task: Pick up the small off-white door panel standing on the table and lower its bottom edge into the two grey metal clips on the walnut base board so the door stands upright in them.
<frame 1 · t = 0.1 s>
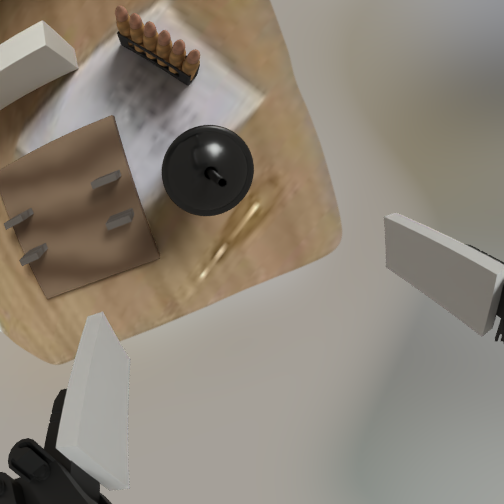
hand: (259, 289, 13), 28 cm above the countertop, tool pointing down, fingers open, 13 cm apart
drinking cup: (194, 158, 37), on the countertop
ammunition clip: (158, 58, 31), on the countertop
door panel: (23, 85, 26), on the countertop
clip board: (73, 211, 35), on the countertop
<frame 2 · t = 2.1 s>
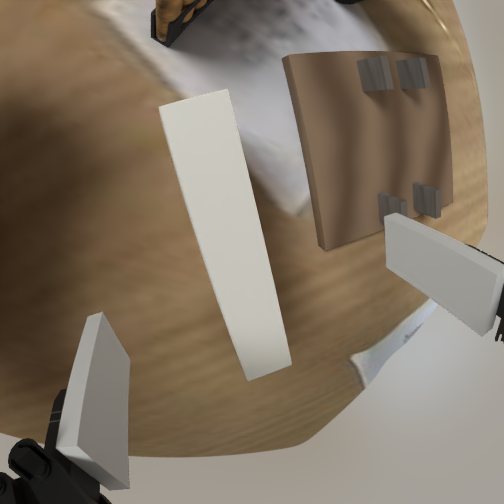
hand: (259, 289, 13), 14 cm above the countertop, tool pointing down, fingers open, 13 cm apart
ammunition clip: (200, 0, 19), on the countertop
door panel: (204, 206, 26), on the countertop
clip board: (384, 138, 28), on the countertop
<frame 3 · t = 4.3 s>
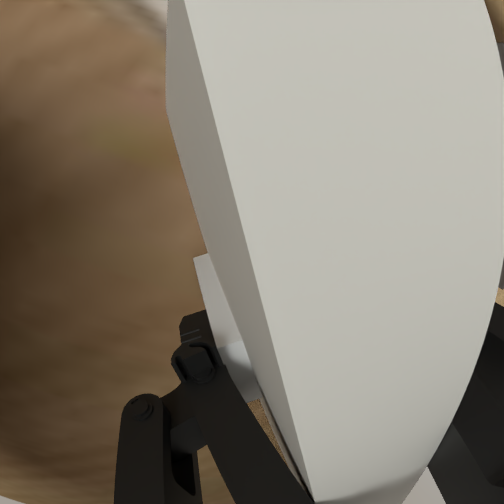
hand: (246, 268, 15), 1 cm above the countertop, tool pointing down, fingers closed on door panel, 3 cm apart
door panel: (243, 263, 15), on the countertop, touching gripper
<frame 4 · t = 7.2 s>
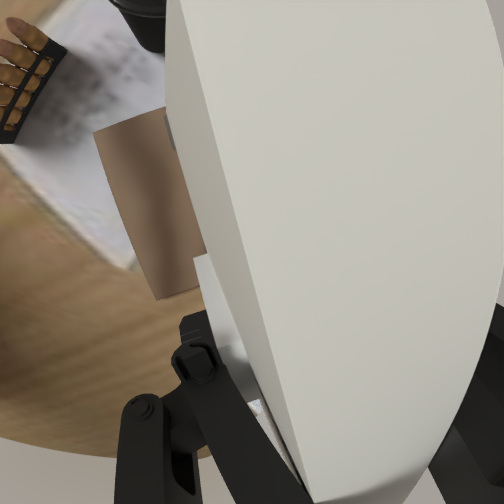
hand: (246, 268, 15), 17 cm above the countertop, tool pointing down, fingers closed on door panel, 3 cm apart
drinking cup: (161, 32, 23), on the countertop
ammunition clip: (32, 93, 21), on the countertop
door panel: (243, 264, 15), point 17 cm above the countertop, touching gripper
clip board: (214, 186, 30), on the countertop
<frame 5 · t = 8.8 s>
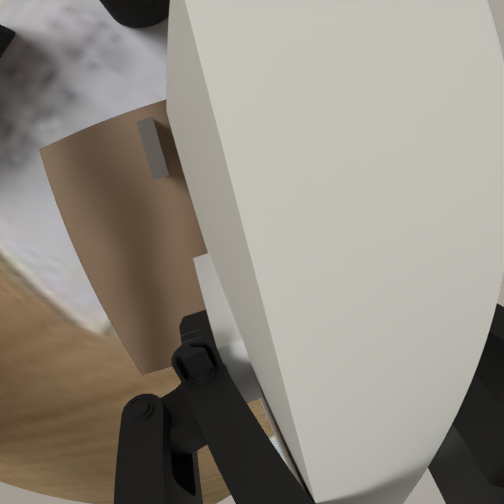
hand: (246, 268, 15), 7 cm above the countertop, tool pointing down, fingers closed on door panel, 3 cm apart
door panel: (243, 264, 15), point 6 cm above the countertop, touching gripper
clip board: (219, 226, 21), on the countertop
when the fingers open (3 cm above the countertop, at t = 10.1 s): door panel stays where it is, resting on clip board.
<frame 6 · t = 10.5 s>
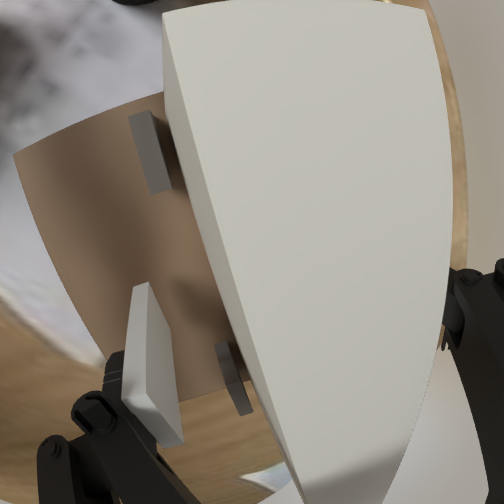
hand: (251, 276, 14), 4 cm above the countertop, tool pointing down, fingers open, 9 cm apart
door panel: (238, 257, 16), point 1 cm above the countertop, touching clip board
clip board: (232, 246, 18), on the countertop
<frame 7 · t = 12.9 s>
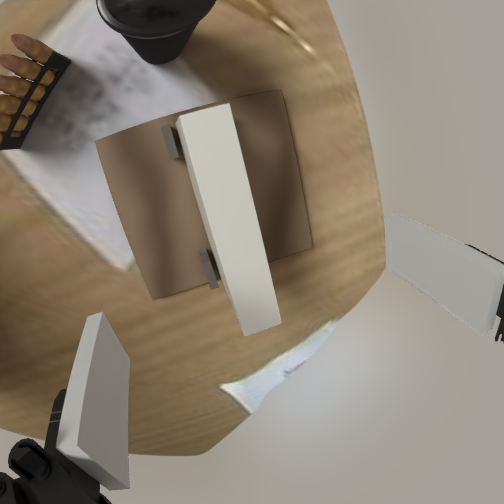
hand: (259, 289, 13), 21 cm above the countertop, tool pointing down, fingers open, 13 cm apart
drinking cup: (160, 44, 25), on the countertop
ammunition clip: (38, 101, 23), on the countertop
door panel: (211, 196, 30), point 1 cm above the countertop, touching clip board
clip board: (209, 193, 32), on the countertop
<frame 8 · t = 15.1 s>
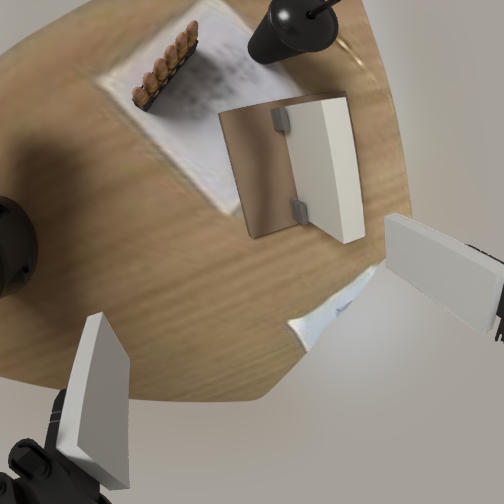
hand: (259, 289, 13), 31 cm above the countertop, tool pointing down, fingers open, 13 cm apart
drinking cup: (263, 49, 36), on the countertop
ammunition clip: (165, 76, 34), on the countertop
door panel: (300, 160, 42), point 1 cm above the countertop, touching clip board
clip board: (296, 159, 43), on the countertop
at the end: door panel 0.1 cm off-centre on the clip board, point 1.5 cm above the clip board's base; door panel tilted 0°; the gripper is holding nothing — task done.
